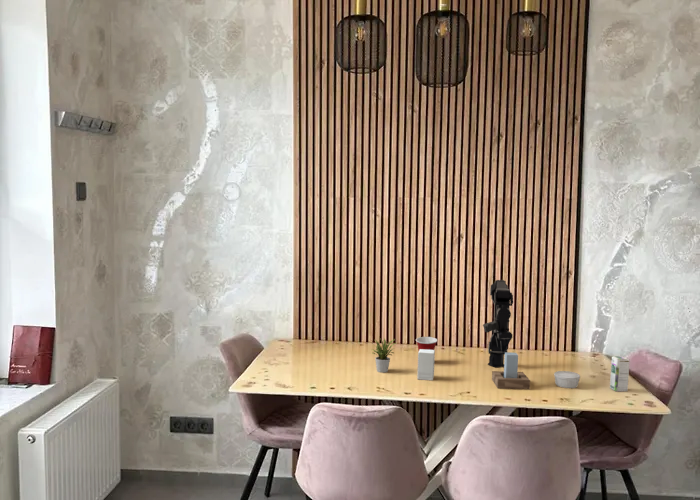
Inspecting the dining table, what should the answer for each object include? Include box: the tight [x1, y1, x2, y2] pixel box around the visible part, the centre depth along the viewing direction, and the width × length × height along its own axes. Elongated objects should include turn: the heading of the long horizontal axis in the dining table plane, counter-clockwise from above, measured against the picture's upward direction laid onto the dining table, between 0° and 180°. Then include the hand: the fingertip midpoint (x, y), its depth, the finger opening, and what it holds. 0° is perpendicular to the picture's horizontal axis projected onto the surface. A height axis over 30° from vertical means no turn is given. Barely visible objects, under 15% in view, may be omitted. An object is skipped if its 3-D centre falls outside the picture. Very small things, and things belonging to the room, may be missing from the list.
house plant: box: [369, 337, 397, 373], centre depth 320 cm, size 14×14×16 cm
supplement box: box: [416, 349, 436, 381], centre depth 310 cm, size 7×7×13 cm
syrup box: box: [609, 355, 630, 392], centre depth 297 cm, size 6×6×14 cm
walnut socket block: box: [491, 370, 531, 390], centre depth 303 cm, size 14×14×4 cm
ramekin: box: [553, 370, 581, 389], centre depth 303 cm, size 11×11×5 cm
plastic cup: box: [415, 336, 438, 352], centre depth 338 cm, size 11×11×12 cm
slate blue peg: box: [503, 351, 519, 378], centre depth 302 cm, size 5×5×13 cm
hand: (500, 349), depth 313 cm, fingers open, 9 cm apart
